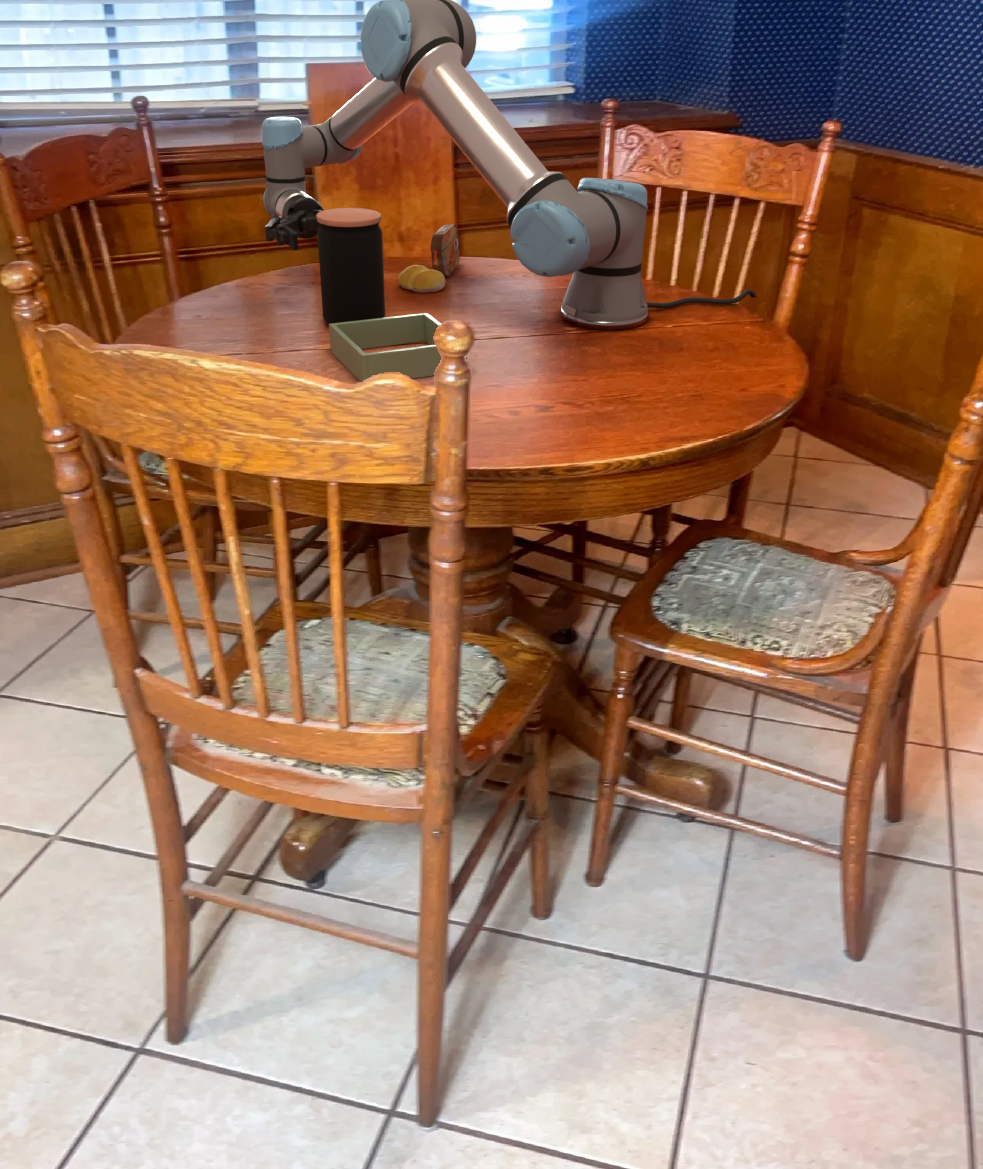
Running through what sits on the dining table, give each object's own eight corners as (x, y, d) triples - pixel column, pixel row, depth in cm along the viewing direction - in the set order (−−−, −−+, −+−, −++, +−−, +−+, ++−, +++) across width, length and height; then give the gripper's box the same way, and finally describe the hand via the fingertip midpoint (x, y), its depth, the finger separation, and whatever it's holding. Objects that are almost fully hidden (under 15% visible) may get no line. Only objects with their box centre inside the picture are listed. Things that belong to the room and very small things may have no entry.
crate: (427, 339, 172) (427, 312, 169) (466, 371, 159) (467, 342, 156) (330, 351, 166) (328, 323, 163) (363, 385, 153) (362, 355, 150)
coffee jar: (397, 320, 180) (394, 213, 171) (359, 336, 173) (353, 224, 163) (350, 310, 185) (344, 205, 176) (310, 324, 178) (302, 215, 168)
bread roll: (426, 296, 194) (426, 274, 192) (391, 287, 199) (391, 266, 197) (455, 287, 199) (455, 266, 197) (420, 279, 204) (420, 258, 202)
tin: (444, 280, 204) (443, 236, 199) (428, 279, 204) (428, 235, 200) (461, 262, 216) (461, 220, 212) (446, 261, 217) (446, 219, 212)
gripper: (364, 230, 203) (401, 254, 187) (237, 240, 194) (265, 267, 178) (362, 189, 199) (400, 211, 183) (232, 198, 190) (260, 221, 174)
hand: (334, 239), depth 180 cm, fingers open, 13 cm apart
